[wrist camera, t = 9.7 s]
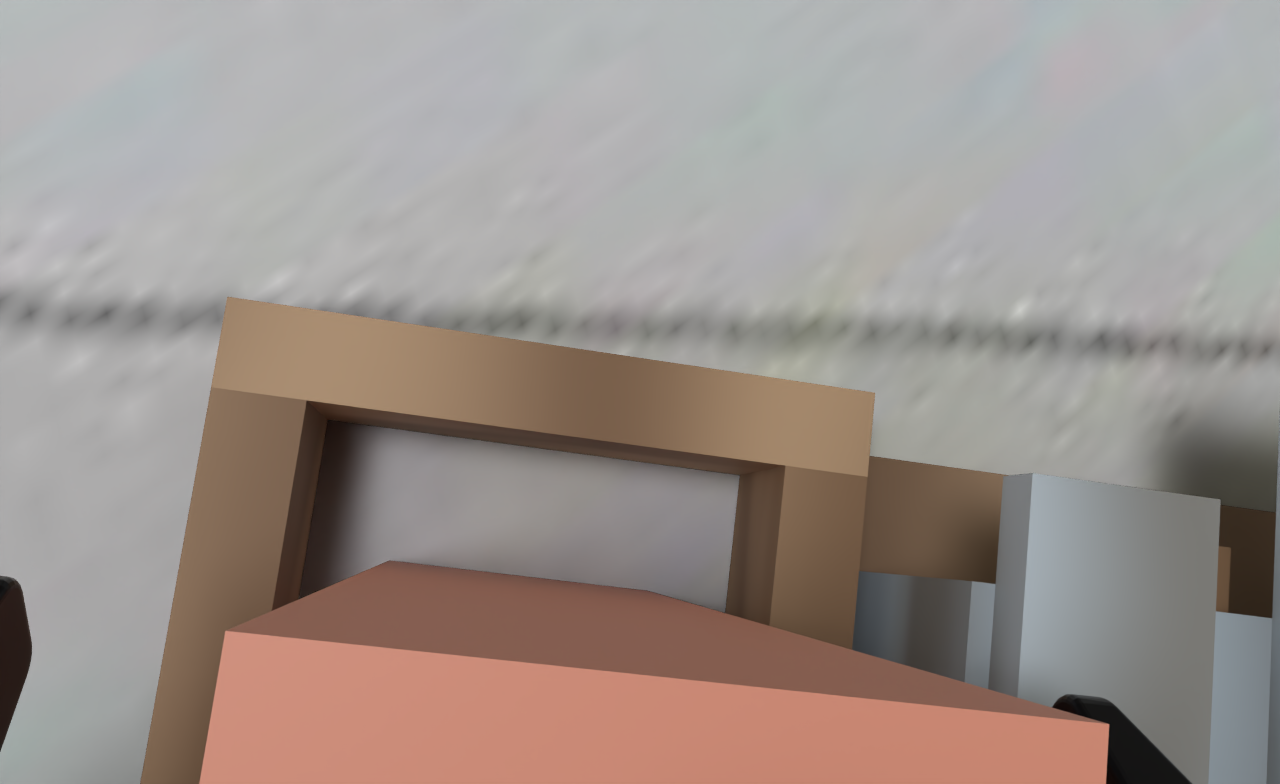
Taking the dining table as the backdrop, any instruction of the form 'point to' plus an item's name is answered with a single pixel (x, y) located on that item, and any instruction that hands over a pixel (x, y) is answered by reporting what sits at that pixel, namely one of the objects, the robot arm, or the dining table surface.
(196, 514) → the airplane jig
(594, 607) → the salmon pink box
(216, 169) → the dining table surface
